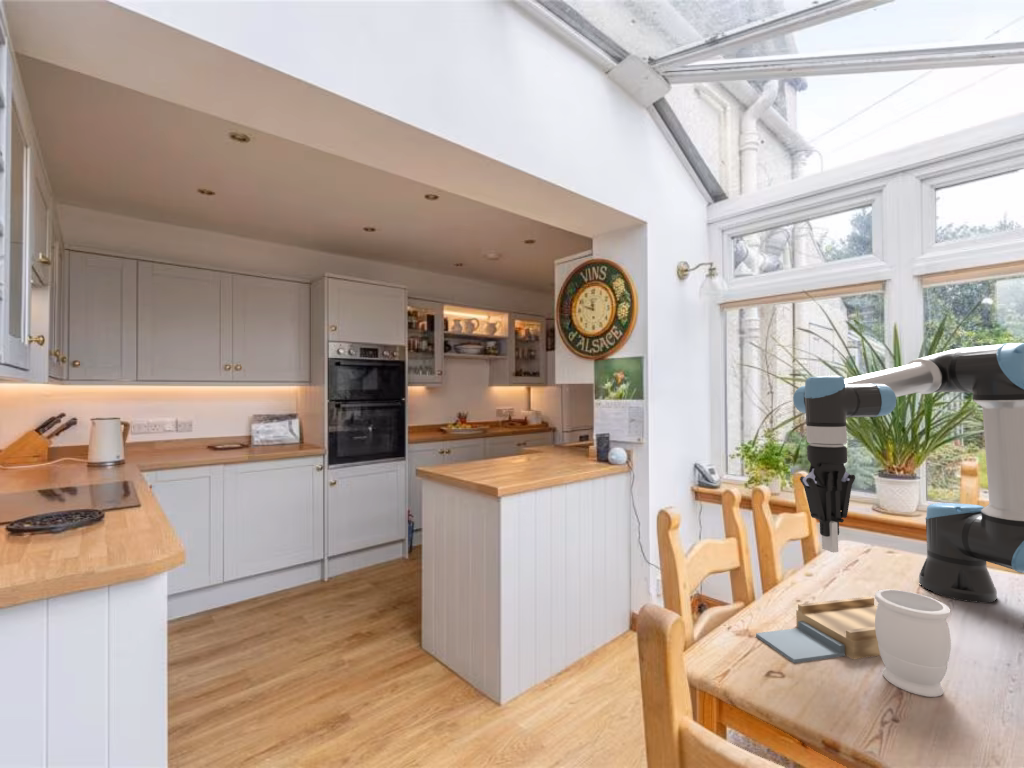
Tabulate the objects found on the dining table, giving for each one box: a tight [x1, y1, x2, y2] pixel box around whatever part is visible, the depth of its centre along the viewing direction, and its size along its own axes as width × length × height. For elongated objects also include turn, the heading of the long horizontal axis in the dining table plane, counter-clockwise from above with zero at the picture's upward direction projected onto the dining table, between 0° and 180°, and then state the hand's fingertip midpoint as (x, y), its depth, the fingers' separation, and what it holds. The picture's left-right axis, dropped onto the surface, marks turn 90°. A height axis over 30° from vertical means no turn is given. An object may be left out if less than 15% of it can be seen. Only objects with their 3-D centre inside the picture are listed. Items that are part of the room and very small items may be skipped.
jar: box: [874, 588, 952, 698], centre depth 86 cm, size 11×10×15 cm
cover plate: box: [755, 621, 846, 664], centre depth 99 cm, size 12×10×3 cm
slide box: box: [795, 596, 881, 660], centre depth 103 cm, size 20×14×5 cm
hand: (830, 550), depth 106 cm, fingers closed
